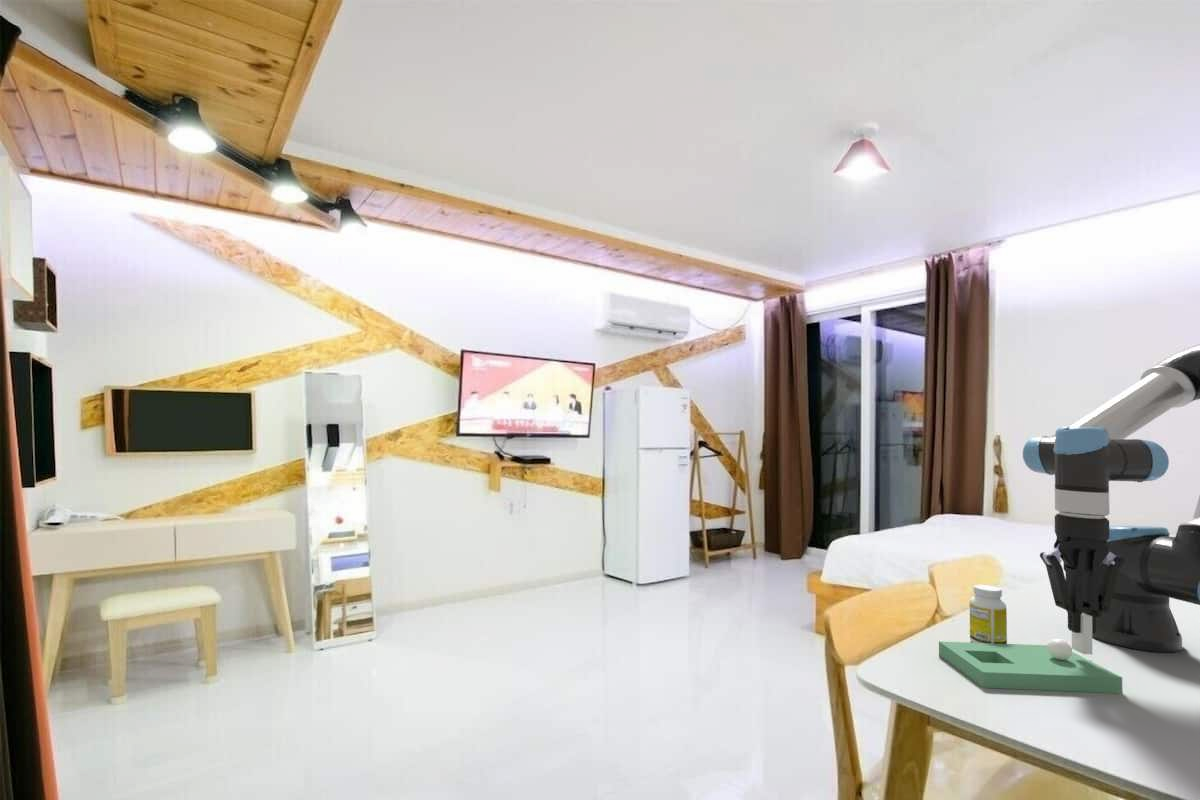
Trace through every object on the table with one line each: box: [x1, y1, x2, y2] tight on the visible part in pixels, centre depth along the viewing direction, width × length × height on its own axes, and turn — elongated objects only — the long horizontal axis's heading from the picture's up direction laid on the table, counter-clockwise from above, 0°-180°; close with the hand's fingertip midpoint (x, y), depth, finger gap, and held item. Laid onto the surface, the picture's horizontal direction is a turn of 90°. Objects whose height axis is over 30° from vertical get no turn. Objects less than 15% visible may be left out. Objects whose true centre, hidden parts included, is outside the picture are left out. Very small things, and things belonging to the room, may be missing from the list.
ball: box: [1047, 638, 1073, 660], centre depth 105 cm, size 4×4×4 cm
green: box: [938, 641, 1123, 694], centre depth 105 cm, size 22×14×2 cm, turn 87°
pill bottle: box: [969, 584, 1008, 644], centre depth 119 cm, size 6×6×11 cm
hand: (1082, 651), depth 105 cm, fingers closed
